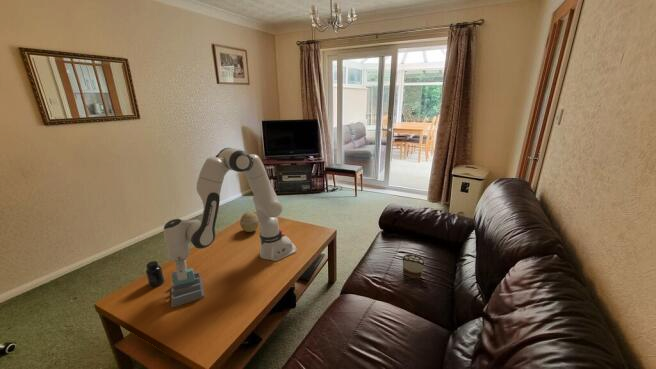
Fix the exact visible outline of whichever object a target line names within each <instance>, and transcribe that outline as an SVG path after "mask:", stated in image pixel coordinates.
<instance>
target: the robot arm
mask: <svg viewBox="0 0 656 369" xmlns="http://www.w3.org/2000/svg"><path fill="white" fill-rule="evenodd" d="M229 171H234V172H237V173H243V172H244V175H245V178H246V180H247V182H248V186H249V188H250V190H251V192H252V194H253V197H252V200H253V204H254V208H255V212H256V216H257V217H258V220H259V225H258V227H259V242H260V250H259V258H261V259H263V260H268V261H269V260H271V261H273V262H277V261H279V260H282V259H283V258H286V257H288V256H291V255H293V254H295V253H297V247H296V245H295V244H294V243H293V241H291V239H290V238H289V237H288V236H286V234H285V233H284V232H283V231H282V230H281V229H280V226H279V219H278V217H279V216H280V215H281V214H282V212H283V205H282V203H281V202H280V200H279V197H278V195H277V194H276V191H275V190H274V187H273V185H272V183H271V182H270V181H271V180H270V178H269V176H268V173H267V170H266V168H265V165H264V163H263V161H262V160H261V158H260V156H258V154H255V153H251V154H249V153H247V151H244V150H241V149H239V148H233V147H225V148H223V149H221V150H220V151H219V153H218V154H216V155H215V156H211V157H208V158H206V160H204V163H203V165H202V166H201V169H200V172H199V175H198V177H197V181H196V192H197V194H198V196H199V197H200V200H201V201H202V204H203V209H202V210H203V211H202V215H201V218H200V219H201V220H199V219H189V220H185V219H180V218H174V219H171V220H169V221H167V222H166V223H165V224H164V226H163V238H164V242H165V245H166V250H167V256H168V259H169V261H171V262H174V263H175V270H176V271H175V272H176V273H177V278H178V280H179V281H182V280H186V279H187V269H188V268H187V259H188V257H189V256H190V254H191V252H190V246H189V243H191V244H192V245H193V246H194V248H197V249H199V250H200V249H206V248H208V247H210V246H211V245H212V244H213V243H214V241H215V239H216V228H215V227H216V223H217V217H218V212H219V206H220V200H221V196H220V195H221V191H222V190H221V189H222V186H223V182H224V180H225V176H226V174H227V173H228V172H229Z"/></svg>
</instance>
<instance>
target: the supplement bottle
mask: <svg viewBox="0 0 656 369" xmlns="http://www.w3.org/2000/svg"><path fill="white" fill-rule="evenodd" d="M145 275H146V278H147V281H148V285H149V287H152V288H156V287H159V286H161V285H163V283H164V282H165V277H164V273H163V270H162V266H161V265H159V263H158V261H156V260H153V261H149V262H148V263H147V264H146V270H145Z"/></svg>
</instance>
